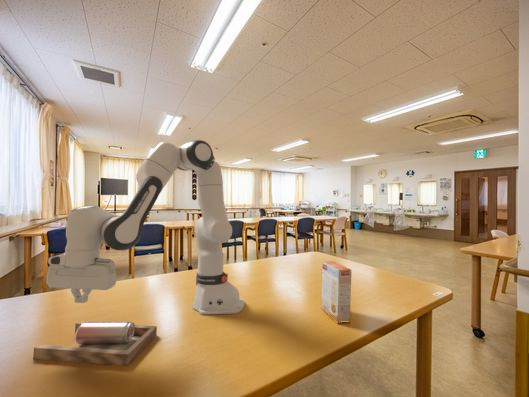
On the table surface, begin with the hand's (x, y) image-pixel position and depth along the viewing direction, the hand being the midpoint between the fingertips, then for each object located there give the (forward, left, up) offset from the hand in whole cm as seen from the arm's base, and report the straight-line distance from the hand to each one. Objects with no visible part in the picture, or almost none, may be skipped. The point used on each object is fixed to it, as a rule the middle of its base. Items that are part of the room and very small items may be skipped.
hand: (81, 302), depth 73 cm
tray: (-6, 0, -13) cm, 14 cm away
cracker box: (-85, -30, -13) cm, 91 cm away
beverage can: (0, 0, -10) cm, 10 cm away
